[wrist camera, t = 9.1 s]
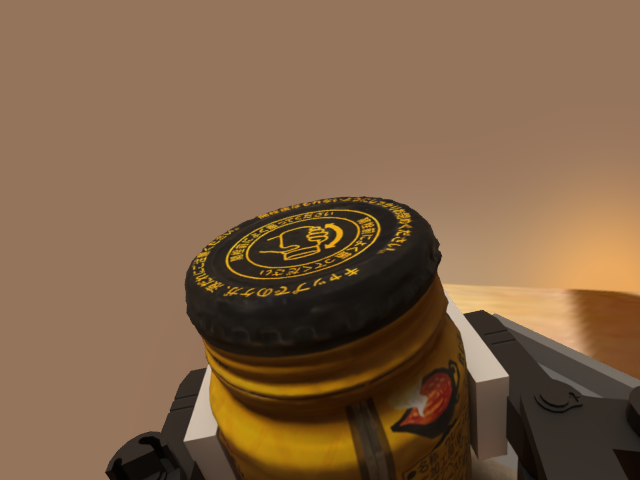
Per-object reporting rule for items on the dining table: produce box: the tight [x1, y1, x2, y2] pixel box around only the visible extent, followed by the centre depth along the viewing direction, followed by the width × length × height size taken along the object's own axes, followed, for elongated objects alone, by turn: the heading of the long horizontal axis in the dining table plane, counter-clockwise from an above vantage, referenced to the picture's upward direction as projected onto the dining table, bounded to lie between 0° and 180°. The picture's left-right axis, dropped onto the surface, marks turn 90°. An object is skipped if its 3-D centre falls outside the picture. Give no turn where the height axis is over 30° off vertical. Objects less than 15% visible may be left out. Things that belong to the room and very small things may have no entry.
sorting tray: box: [470, 314, 640, 472], centre depth 23 cm, size 18×18×3 cm
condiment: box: [185, 196, 517, 480], centre depth 10 cm, size 7×8×12 cm
